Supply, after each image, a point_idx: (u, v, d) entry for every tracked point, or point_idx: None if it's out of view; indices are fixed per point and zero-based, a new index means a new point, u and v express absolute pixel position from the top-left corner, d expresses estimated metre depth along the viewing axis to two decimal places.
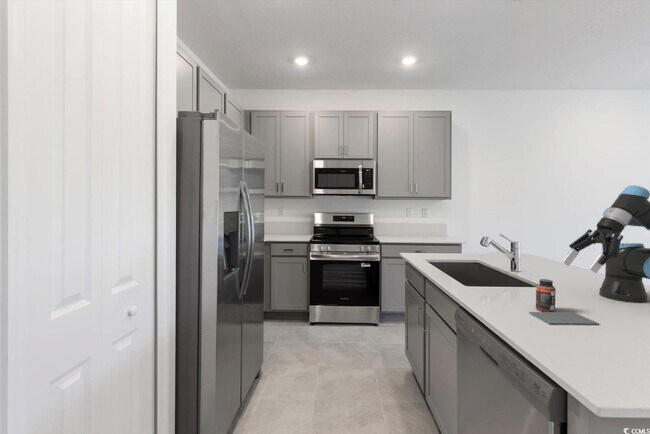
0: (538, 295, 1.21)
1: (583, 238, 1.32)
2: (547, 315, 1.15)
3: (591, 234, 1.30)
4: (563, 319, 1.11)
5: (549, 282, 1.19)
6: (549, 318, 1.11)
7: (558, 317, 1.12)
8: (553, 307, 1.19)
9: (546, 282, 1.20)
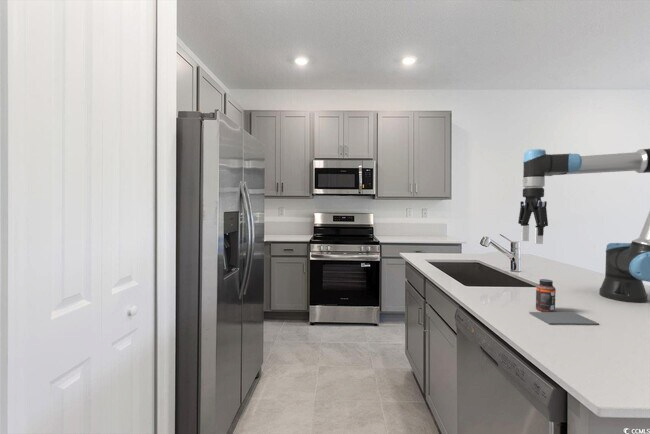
0: (538, 295, 1.21)
1: (522, 211, 1.42)
2: (547, 315, 1.15)
3: (525, 204, 1.41)
4: (563, 319, 1.11)
5: (549, 282, 1.19)
6: (549, 318, 1.11)
7: (558, 317, 1.12)
8: (553, 307, 1.19)
9: (546, 282, 1.20)
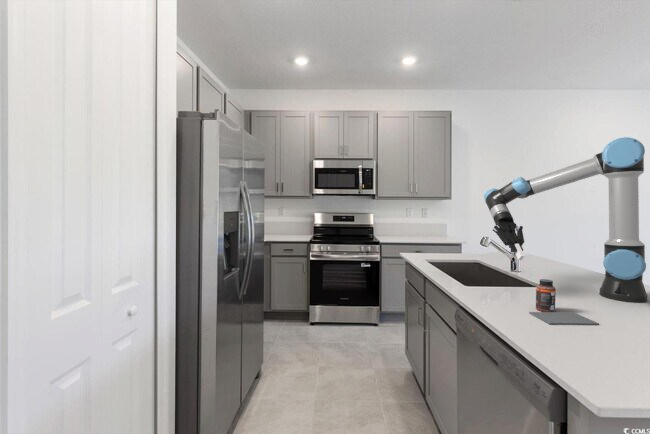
0: (538, 295, 1.21)
1: (517, 234, 1.46)
2: (547, 315, 1.15)
3: (516, 229, 1.48)
4: (563, 319, 1.11)
5: (549, 282, 1.19)
6: (549, 318, 1.11)
7: (558, 317, 1.12)
8: (553, 307, 1.19)
9: (546, 282, 1.20)
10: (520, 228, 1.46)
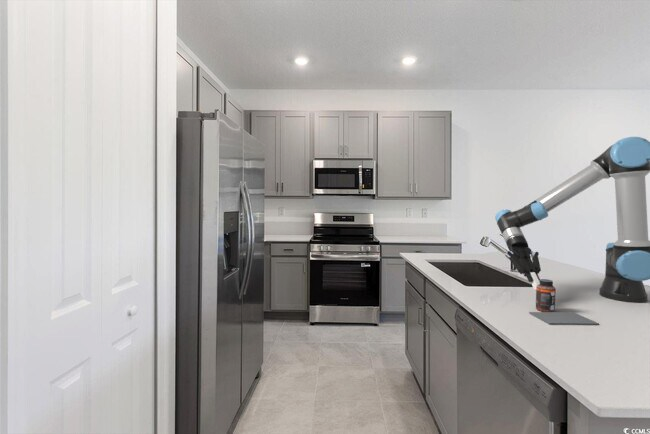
0: (538, 295, 1.21)
1: (533, 261, 1.35)
2: (547, 315, 1.15)
3: (531, 255, 1.36)
4: (563, 319, 1.11)
5: (549, 282, 1.19)
6: (549, 318, 1.11)
7: (558, 317, 1.12)
8: (553, 307, 1.19)
9: (546, 282, 1.19)
10: (536, 254, 1.35)
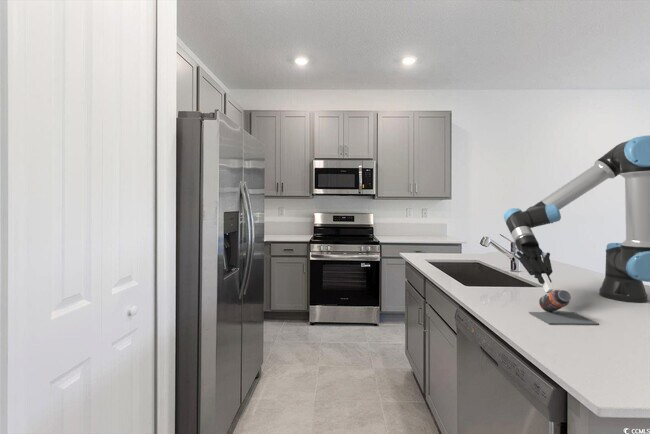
0: (547, 302, 1.15)
1: (544, 262, 1.27)
2: (547, 315, 1.15)
3: (542, 256, 1.29)
4: (563, 319, 1.11)
5: (566, 301, 1.10)
6: (549, 318, 1.11)
7: (558, 317, 1.12)
8: None
9: (563, 301, 1.10)
10: (547, 255, 1.27)
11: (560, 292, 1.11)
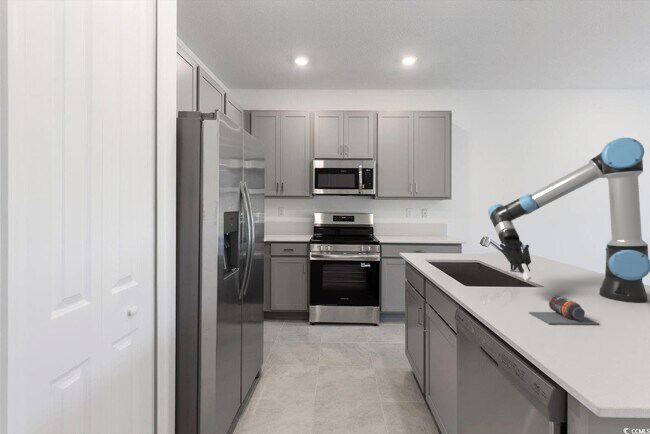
0: (560, 303, 1.13)
1: (523, 253, 1.42)
2: (547, 315, 1.15)
3: (522, 247, 1.43)
4: (563, 319, 1.11)
5: (573, 317, 1.08)
6: (549, 318, 1.11)
7: (558, 317, 1.12)
8: None
9: (571, 314, 1.08)
10: (526, 247, 1.42)
11: (579, 309, 1.08)
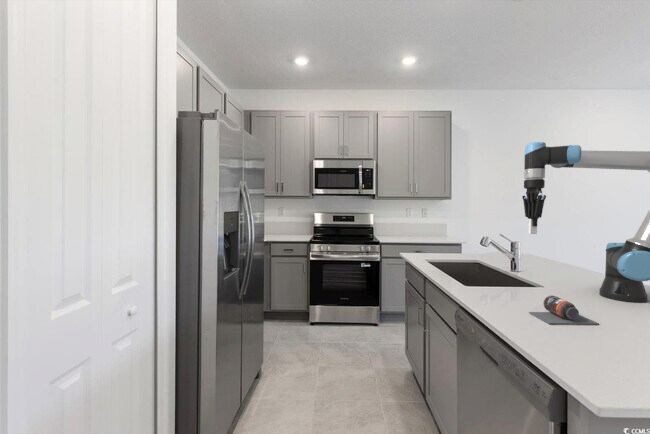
0: (552, 308, 1.14)
1: (526, 203, 1.46)
2: (547, 315, 1.15)
3: (527, 197, 1.46)
4: (563, 319, 1.11)
5: (570, 318, 1.08)
6: (549, 318, 1.11)
7: (558, 317, 1.12)
8: None
9: (567, 317, 1.08)
10: None
11: (570, 309, 1.08)
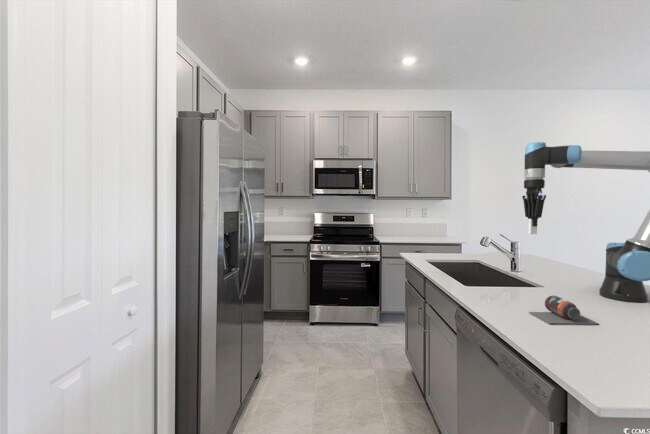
0: (554, 307, 1.14)
1: (526, 203, 1.46)
2: (547, 315, 1.15)
3: (527, 197, 1.46)
4: (563, 319, 1.11)
5: (571, 318, 1.08)
6: (549, 318, 1.11)
7: (558, 317, 1.12)
8: None
9: (568, 317, 1.08)
10: None
11: (572, 309, 1.08)
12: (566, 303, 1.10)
